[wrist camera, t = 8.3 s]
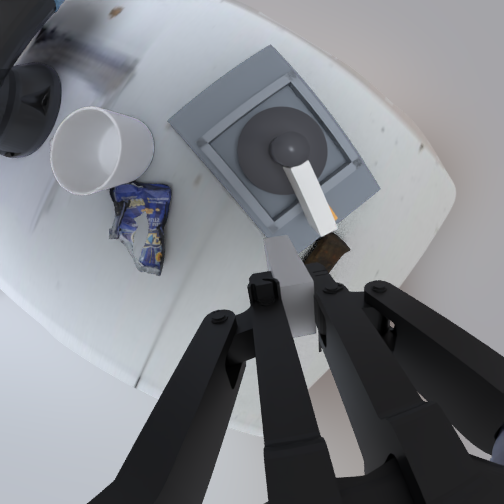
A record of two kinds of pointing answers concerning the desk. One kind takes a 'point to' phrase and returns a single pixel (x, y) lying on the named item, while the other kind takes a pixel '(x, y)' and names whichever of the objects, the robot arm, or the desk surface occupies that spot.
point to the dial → (288, 160)
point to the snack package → (157, 208)
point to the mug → (99, 150)
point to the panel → (233, 121)
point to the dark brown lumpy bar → (328, 251)
